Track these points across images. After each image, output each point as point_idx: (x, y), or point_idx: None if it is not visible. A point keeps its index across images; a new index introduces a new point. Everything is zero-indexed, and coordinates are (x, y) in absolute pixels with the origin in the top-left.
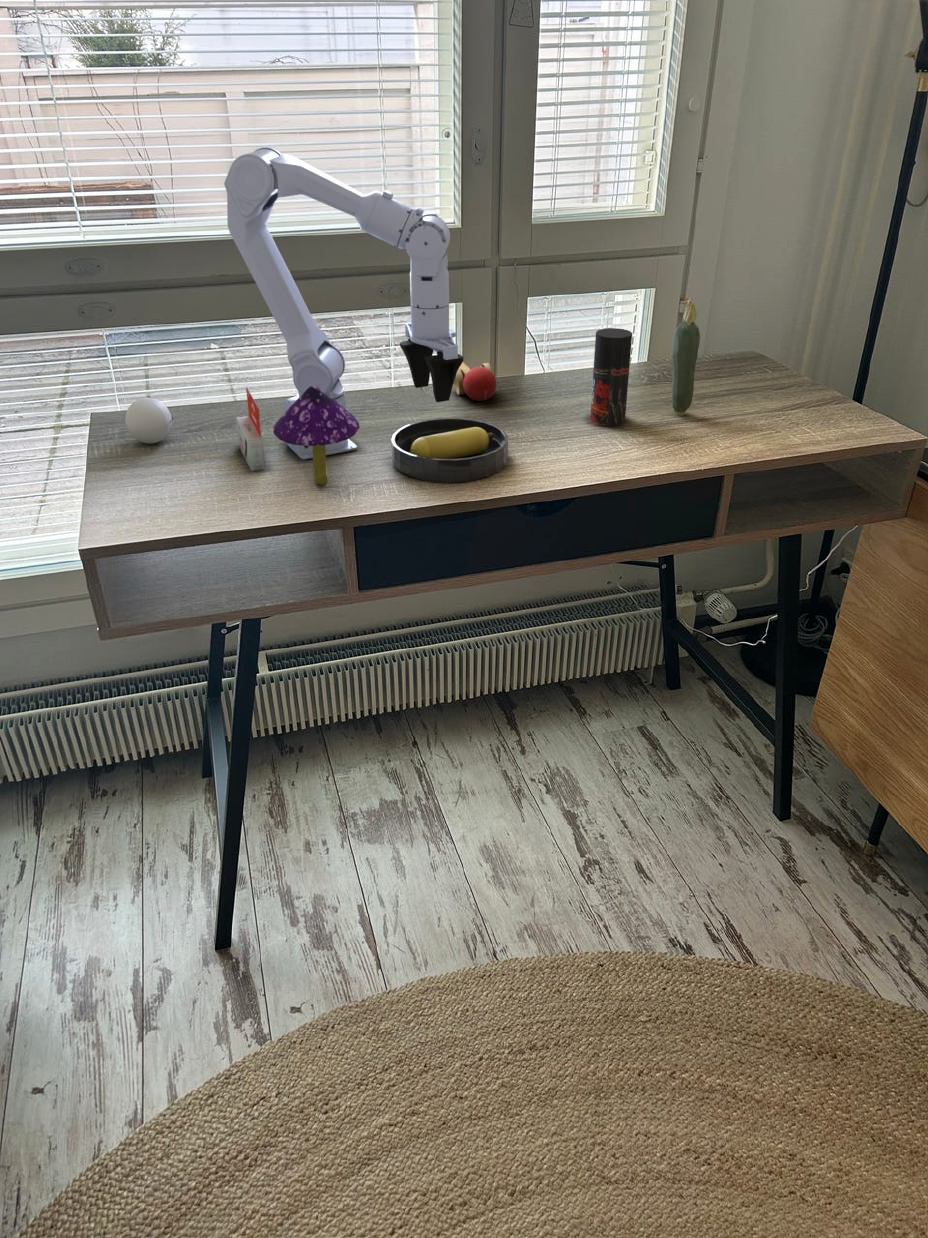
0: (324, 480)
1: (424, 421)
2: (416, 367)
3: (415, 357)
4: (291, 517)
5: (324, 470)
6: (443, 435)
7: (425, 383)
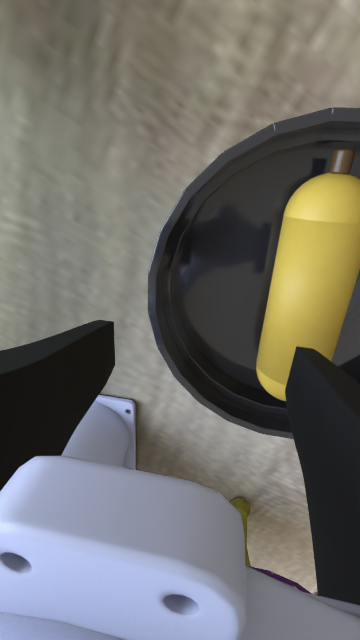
0: (249, 510)
1: (156, 298)
2: (72, 410)
3: (45, 452)
4: (314, 566)
5: (246, 523)
6: (316, 339)
7: (109, 336)
